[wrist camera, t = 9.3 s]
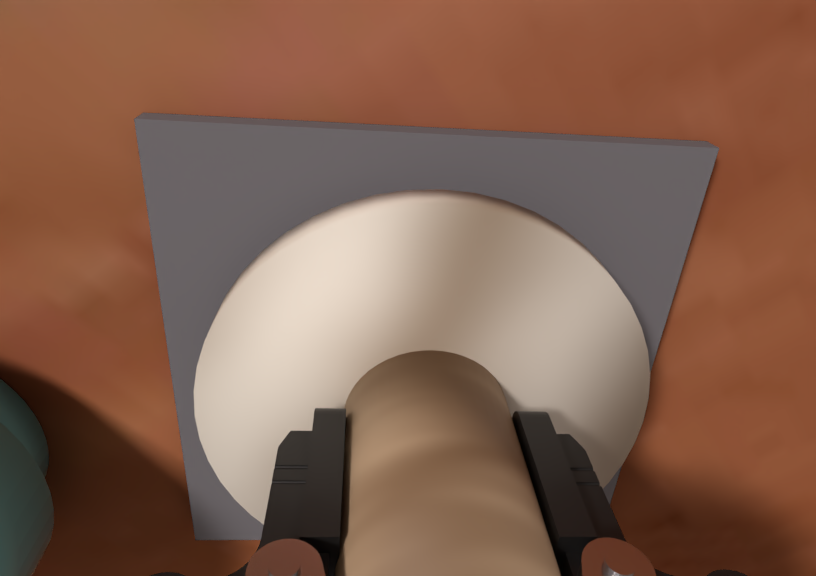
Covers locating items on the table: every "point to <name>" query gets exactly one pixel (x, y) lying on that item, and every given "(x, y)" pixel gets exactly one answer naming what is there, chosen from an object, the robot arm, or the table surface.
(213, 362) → the lid
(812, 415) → the table surface
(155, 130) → the mat
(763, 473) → the table surface
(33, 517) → the teal rounded dome
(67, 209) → the table surface
